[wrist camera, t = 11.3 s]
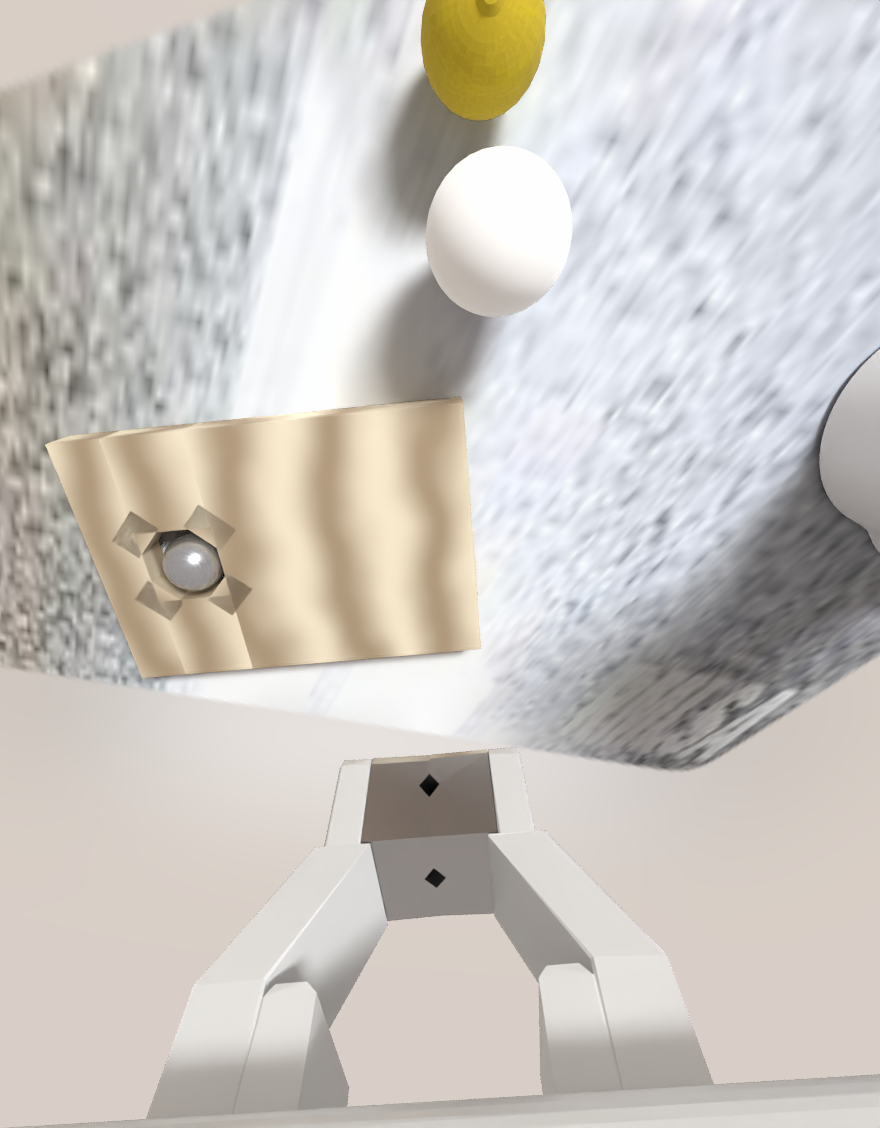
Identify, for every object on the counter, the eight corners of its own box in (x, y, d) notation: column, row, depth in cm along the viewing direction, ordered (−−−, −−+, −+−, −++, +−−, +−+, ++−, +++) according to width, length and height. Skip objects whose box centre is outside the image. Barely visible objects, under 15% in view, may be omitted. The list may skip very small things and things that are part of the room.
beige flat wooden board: (461, 396, 35) (463, 402, 32) (478, 630, 42) (481, 649, 40) (69, 435, 35) (45, 444, 33) (157, 658, 43) (142, 678, 41)
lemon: (499, 160, 29) (521, 112, 22) (405, 107, 28) (396, 38, 21) (548, 38, 27) (591, -60, 20) (449, -24, 26) (456, -152, 19)
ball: (227, 523, 38) (199, 547, 34) (240, 573, 40) (216, 600, 36) (174, 525, 38) (142, 549, 35) (190, 574, 40) (160, 602, 37)
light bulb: (413, 201, 30) (403, 149, 20) (531, 164, 29) (581, 91, 19) (443, 328, 33) (447, 337, 23) (551, 297, 32) (604, 293, 22)
